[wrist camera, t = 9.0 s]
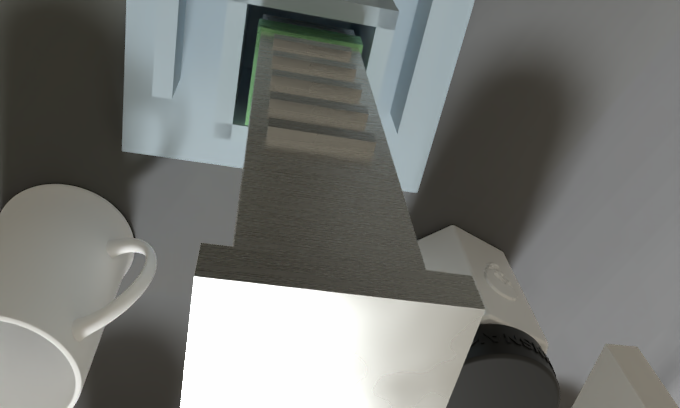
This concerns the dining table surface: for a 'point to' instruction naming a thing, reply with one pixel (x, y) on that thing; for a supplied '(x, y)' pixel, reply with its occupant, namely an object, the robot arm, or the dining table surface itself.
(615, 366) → the robot arm
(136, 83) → the stand base
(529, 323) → the jar
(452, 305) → the column
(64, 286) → the mug
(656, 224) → the dining table surface
